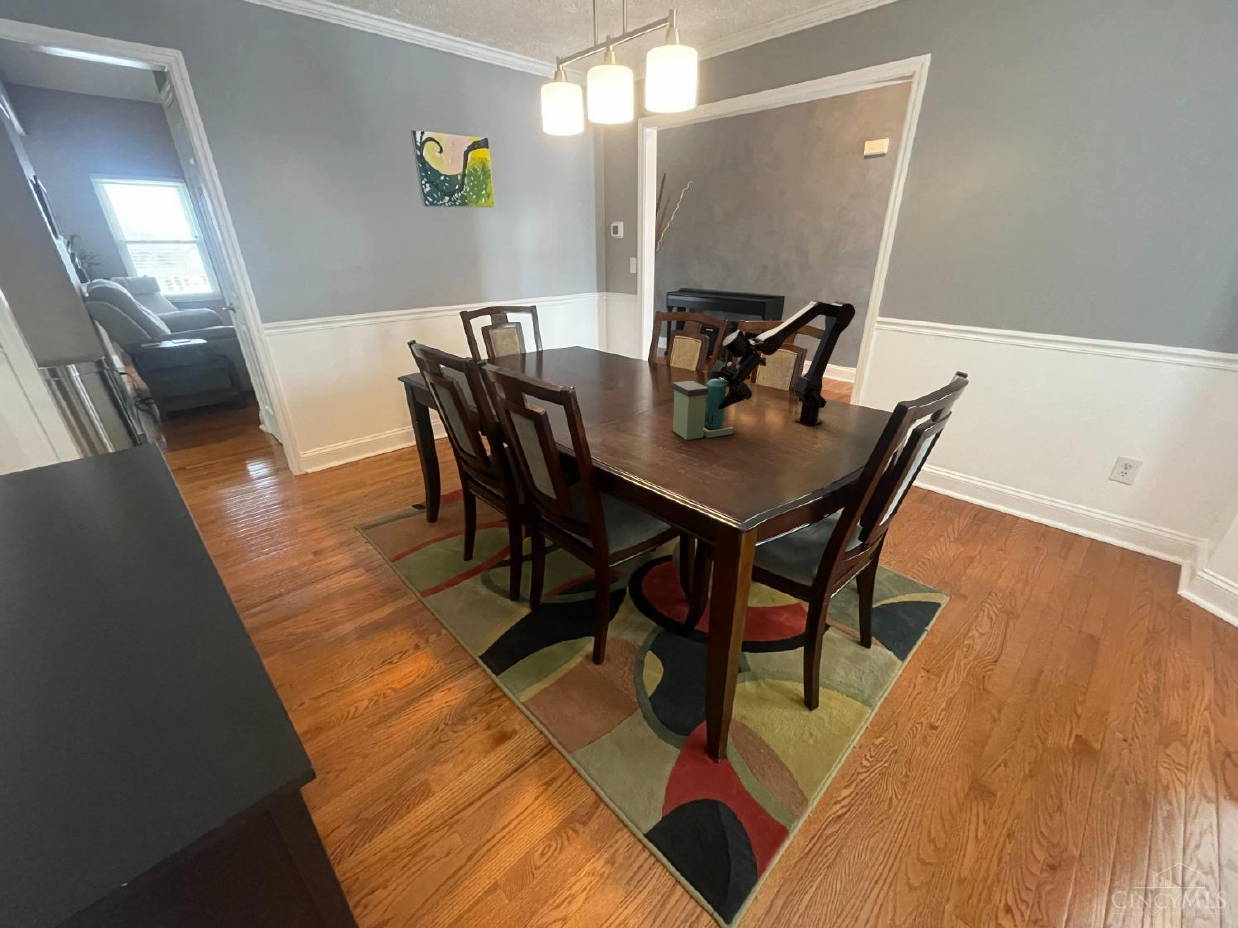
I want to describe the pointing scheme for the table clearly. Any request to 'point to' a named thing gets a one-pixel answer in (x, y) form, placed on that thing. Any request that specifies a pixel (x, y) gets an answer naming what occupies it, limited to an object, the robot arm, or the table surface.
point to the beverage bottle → (715, 401)
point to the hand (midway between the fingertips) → (711, 405)
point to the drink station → (692, 411)
